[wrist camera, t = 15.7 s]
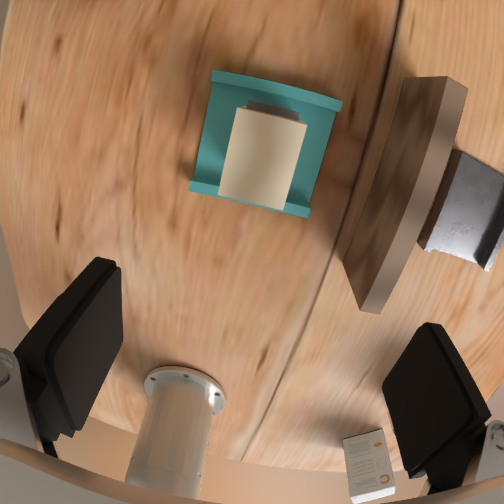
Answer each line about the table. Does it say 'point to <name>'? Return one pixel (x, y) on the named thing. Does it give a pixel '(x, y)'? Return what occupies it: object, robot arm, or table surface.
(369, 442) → the small box
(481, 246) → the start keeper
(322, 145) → the teal square tray
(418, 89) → the door panel
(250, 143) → the block
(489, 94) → the table surface
